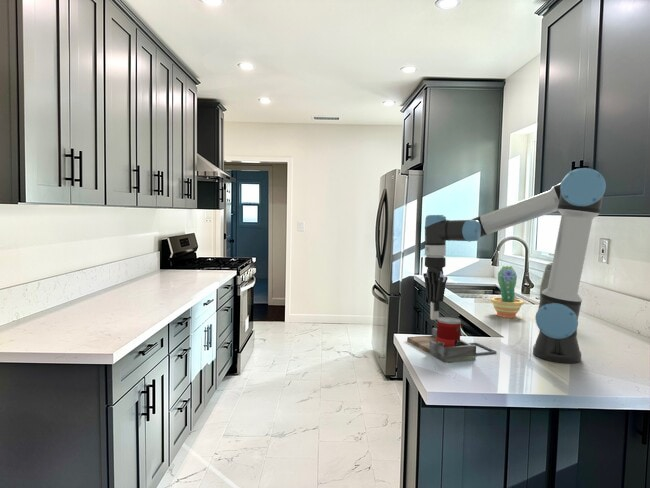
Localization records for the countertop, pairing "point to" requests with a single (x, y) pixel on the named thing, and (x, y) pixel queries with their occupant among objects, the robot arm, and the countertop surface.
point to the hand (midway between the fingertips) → (434, 319)
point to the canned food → (448, 331)
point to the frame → (484, 348)
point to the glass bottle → (546, 278)
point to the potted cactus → (507, 294)
